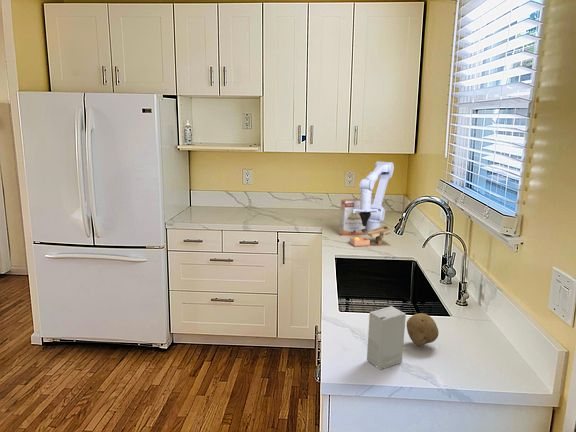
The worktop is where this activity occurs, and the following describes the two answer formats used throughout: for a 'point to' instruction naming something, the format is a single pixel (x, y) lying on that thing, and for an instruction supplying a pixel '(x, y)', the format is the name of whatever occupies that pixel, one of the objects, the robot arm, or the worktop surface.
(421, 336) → the potato
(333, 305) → the worktop surface
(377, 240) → the stand
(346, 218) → the cracker box
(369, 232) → the lever
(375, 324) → the skincare box
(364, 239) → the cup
